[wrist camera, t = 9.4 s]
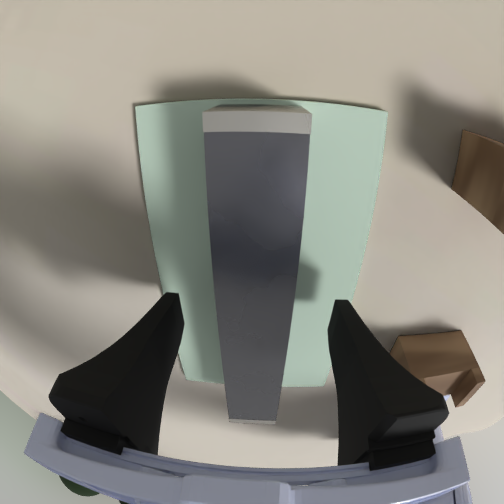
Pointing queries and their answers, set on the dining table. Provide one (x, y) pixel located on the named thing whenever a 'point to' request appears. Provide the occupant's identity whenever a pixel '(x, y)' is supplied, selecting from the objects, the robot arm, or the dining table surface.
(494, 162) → the post
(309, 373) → the mat
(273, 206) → the rail
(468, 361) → the post
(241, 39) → the dining table surface
